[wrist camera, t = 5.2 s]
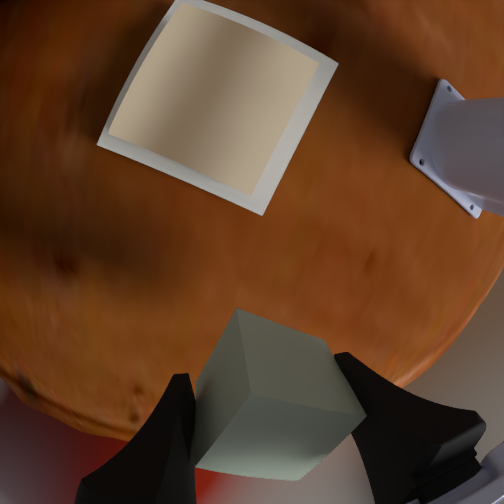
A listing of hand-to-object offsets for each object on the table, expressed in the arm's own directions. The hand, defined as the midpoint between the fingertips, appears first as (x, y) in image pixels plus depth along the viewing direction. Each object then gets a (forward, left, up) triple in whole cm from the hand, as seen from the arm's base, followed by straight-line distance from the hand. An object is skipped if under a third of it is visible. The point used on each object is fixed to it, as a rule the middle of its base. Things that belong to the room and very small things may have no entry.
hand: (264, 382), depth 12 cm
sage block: (0, 0, -1) cm, 1 cm away
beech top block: (+7, -10, -6) cm, 14 cm away
